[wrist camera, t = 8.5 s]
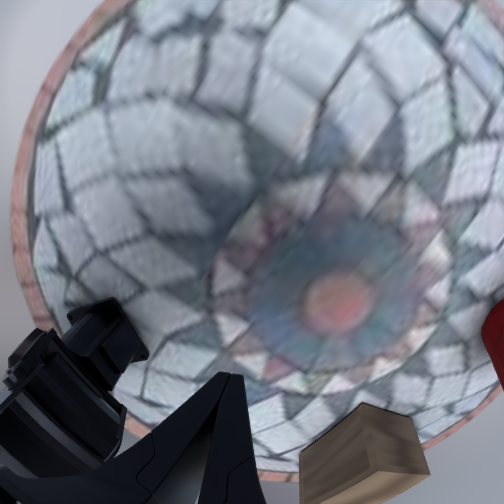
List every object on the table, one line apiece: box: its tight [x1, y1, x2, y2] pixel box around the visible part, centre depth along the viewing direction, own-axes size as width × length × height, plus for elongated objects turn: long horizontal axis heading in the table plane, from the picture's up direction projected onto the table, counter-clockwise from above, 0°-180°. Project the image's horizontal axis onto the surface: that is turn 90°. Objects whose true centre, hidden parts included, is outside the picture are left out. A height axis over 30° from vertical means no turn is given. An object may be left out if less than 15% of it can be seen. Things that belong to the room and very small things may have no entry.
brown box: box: [299, 404, 430, 504], centre depth 24 cm, size 8×11×8 cm
